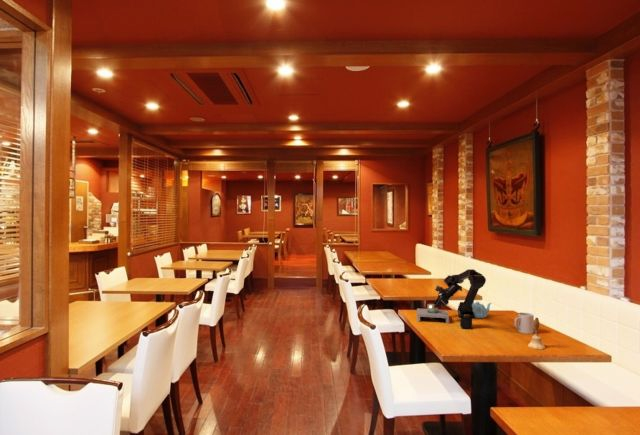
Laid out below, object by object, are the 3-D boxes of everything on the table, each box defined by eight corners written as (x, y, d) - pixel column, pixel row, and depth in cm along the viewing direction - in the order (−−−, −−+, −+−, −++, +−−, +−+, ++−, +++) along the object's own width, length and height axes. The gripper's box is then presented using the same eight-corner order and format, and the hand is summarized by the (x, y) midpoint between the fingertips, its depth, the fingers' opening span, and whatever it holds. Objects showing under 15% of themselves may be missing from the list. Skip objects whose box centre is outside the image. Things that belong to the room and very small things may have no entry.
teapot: (482, 320, 259) (483, 305, 259) (462, 316, 270) (462, 301, 270) (491, 316, 269) (492, 302, 269) (471, 312, 280) (471, 298, 280)
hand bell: (524, 344, 211) (524, 315, 211) (538, 344, 212) (539, 315, 212) (534, 349, 203) (534, 320, 203) (548, 349, 204) (549, 319, 204)
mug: (526, 329, 239) (526, 312, 239) (536, 333, 231) (537, 315, 231) (509, 330, 237) (510, 313, 237) (519, 334, 228) (519, 316, 228)
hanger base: (446, 317, 266) (446, 310, 266) (448, 323, 251) (448, 316, 251) (416, 315, 271) (416, 308, 271) (417, 321, 255) (417, 314, 255)
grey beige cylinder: (436, 316, 263) (436, 304, 263) (437, 319, 257) (437, 306, 257) (427, 316, 265) (427, 303, 264) (427, 318, 258) (427, 305, 258)
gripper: (441, 279, 268) (425, 294, 271) (443, 284, 250) (426, 300, 252) (453, 291, 266) (436, 306, 269) (456, 297, 248) (438, 312, 251)
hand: (434, 305), depth 260 cm, fingers open, 9 cm apart
